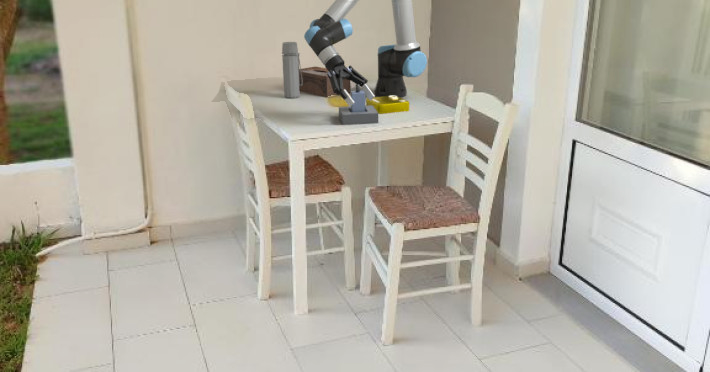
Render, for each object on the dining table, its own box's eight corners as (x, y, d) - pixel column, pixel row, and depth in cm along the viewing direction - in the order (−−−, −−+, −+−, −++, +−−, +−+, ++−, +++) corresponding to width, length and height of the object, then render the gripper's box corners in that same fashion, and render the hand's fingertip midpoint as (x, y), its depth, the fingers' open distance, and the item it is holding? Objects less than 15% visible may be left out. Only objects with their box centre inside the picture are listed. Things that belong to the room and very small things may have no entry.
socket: (372, 114, 272) (372, 105, 271) (378, 123, 259) (378, 113, 258) (338, 116, 271) (338, 106, 269) (343, 124, 258) (342, 114, 256)
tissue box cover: (293, 90, 324) (292, 70, 321) (316, 86, 334) (315, 66, 330) (327, 98, 306) (326, 76, 303) (350, 93, 316) (350, 72, 312)
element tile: (364, 107, 287) (364, 97, 285) (396, 104, 292) (396, 93, 290) (378, 115, 273) (378, 104, 272) (411, 111, 279) (411, 100, 277)
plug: (363, 115, 267) (362, 83, 263) (365, 117, 263) (364, 85, 258) (351, 115, 267) (350, 83, 262) (352, 118, 262) (352, 86, 258)
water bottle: (287, 99, 303) (285, 44, 295) (281, 96, 310) (278, 42, 302) (306, 97, 307) (304, 42, 299) (299, 94, 314) (297, 40, 306)
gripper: (345, 62, 276) (375, 101, 273) (306, 70, 258) (337, 113, 254) (355, 50, 272) (385, 90, 268) (316, 58, 253) (348, 101, 249)
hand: (362, 101), depth 261 cm, fingers open, 13 cm apart
